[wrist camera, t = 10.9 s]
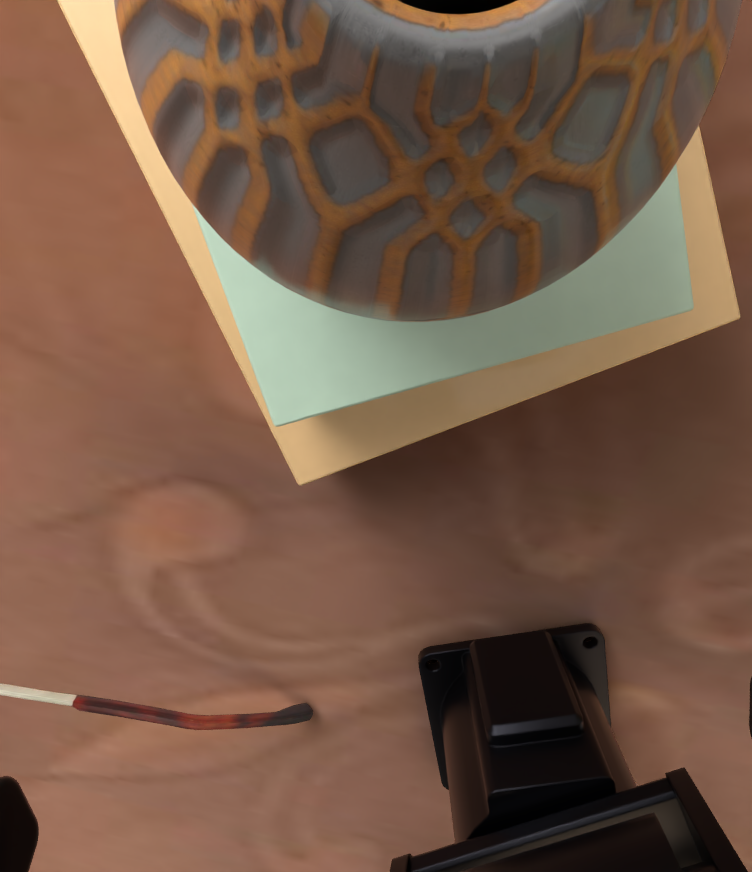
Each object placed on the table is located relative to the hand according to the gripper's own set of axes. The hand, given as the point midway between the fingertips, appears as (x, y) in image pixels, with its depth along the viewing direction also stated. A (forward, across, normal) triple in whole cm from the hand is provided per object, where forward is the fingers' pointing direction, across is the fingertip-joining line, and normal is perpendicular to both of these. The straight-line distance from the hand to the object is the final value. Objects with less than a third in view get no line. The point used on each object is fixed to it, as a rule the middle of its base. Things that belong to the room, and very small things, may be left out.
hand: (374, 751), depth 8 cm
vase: (+7, -2, -8) cm, 11 cm away
